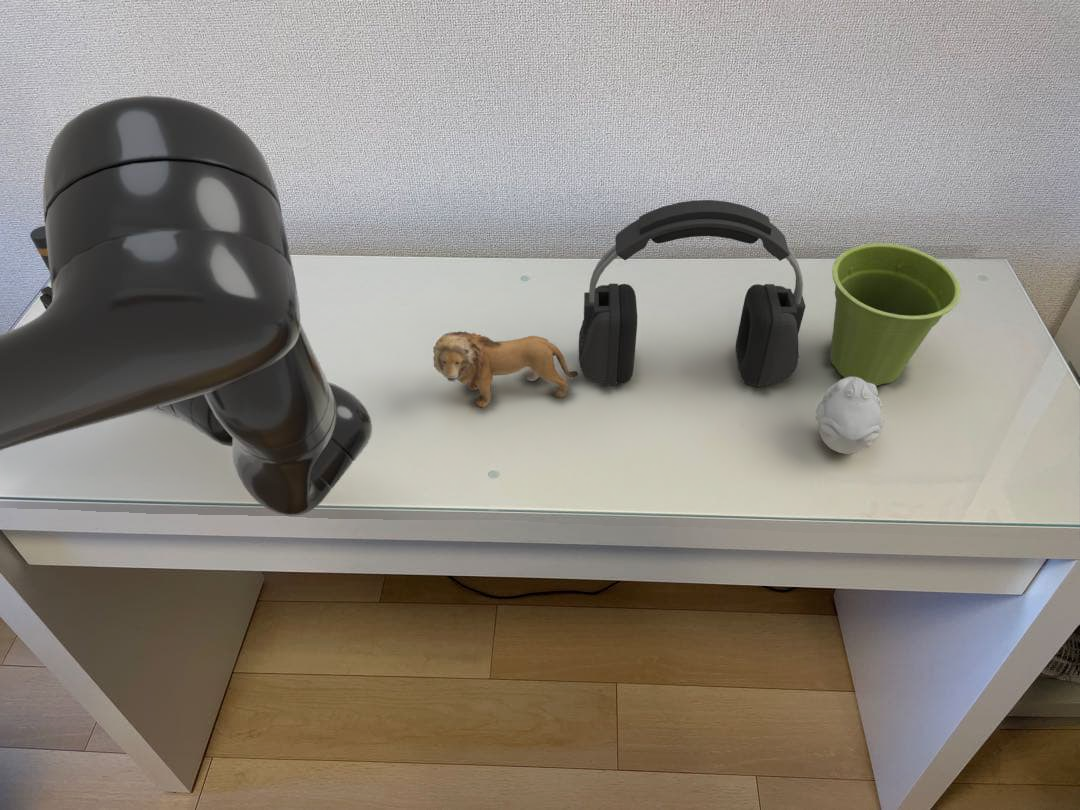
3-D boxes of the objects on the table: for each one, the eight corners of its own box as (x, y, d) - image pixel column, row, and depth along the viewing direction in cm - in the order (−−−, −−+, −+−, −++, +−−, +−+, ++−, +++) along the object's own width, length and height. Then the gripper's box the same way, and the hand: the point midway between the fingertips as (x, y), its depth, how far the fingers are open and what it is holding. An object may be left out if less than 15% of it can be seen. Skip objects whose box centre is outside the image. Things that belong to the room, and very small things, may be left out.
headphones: (578, 389, 88) (581, 226, 74) (578, 347, 92) (581, 186, 78) (795, 391, 87) (841, 226, 73) (784, 349, 92) (826, 186, 77)
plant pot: (935, 408, 85) (974, 322, 77) (813, 399, 87) (839, 314, 78) (914, 330, 93) (947, 245, 85) (803, 323, 95) (826, 238, 86)
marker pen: (105, 376, 84) (31, 241, 72) (101, 364, 85) (28, 229, 74) (126, 369, 84) (56, 234, 73) (122, 357, 86) (53, 222, 74)
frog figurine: (872, 421, 84) (892, 370, 79) (874, 475, 80) (895, 425, 75) (809, 411, 85) (825, 360, 80) (807, 464, 81) (823, 413, 76)
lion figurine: (445, 425, 85) (436, 360, 78) (434, 389, 88) (424, 323, 82) (585, 393, 88) (587, 327, 81) (569, 360, 91) (570, 293, 85)
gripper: (226, 285, 74) (108, 220, 81) (83, 376, 66) (-32, 295, 73) (249, 349, 79) (137, 282, 86) (120, 441, 71) (9, 359, 79)
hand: (60, 288), depth 80 cm, fingers closed on marker pen, 2 cm apart
